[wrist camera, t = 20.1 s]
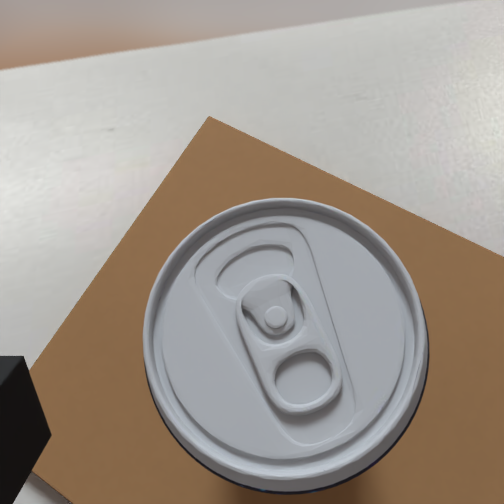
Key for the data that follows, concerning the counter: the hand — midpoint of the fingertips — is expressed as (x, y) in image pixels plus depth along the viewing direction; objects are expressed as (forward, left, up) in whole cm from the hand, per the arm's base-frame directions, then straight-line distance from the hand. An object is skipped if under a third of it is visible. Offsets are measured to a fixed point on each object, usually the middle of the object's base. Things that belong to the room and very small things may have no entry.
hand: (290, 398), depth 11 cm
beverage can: (+1, -1, -8) cm, 8 cm away
